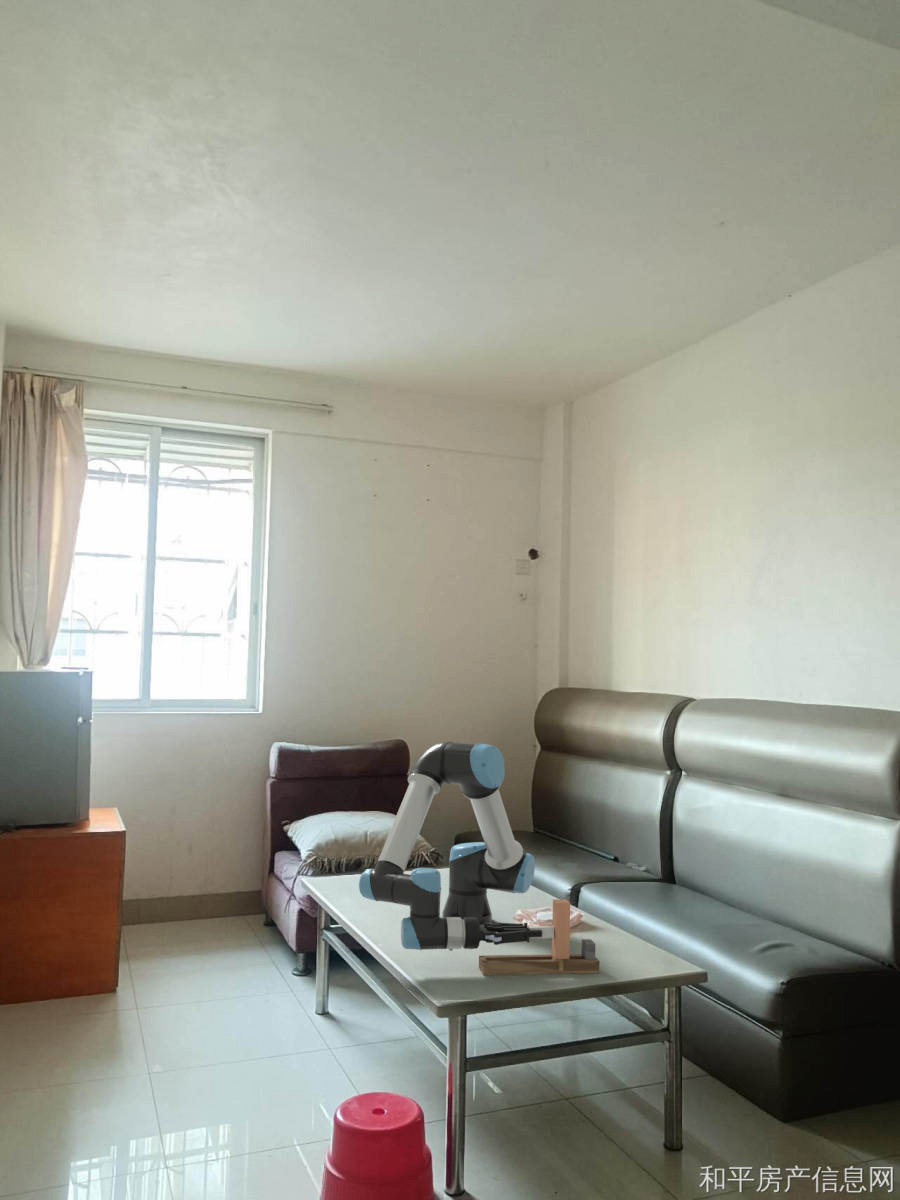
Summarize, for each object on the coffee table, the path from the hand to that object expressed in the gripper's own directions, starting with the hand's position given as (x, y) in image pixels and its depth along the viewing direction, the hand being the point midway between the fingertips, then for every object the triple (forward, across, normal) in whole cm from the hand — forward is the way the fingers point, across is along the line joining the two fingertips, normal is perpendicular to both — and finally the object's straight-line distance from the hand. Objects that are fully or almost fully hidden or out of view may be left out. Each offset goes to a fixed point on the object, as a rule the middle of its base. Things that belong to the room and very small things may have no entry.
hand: (553, 932), depth 237 cm
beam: (-4, 0, -10) cm, 10 cm away
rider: (+2, 0, -10) cm, 10 cm away
